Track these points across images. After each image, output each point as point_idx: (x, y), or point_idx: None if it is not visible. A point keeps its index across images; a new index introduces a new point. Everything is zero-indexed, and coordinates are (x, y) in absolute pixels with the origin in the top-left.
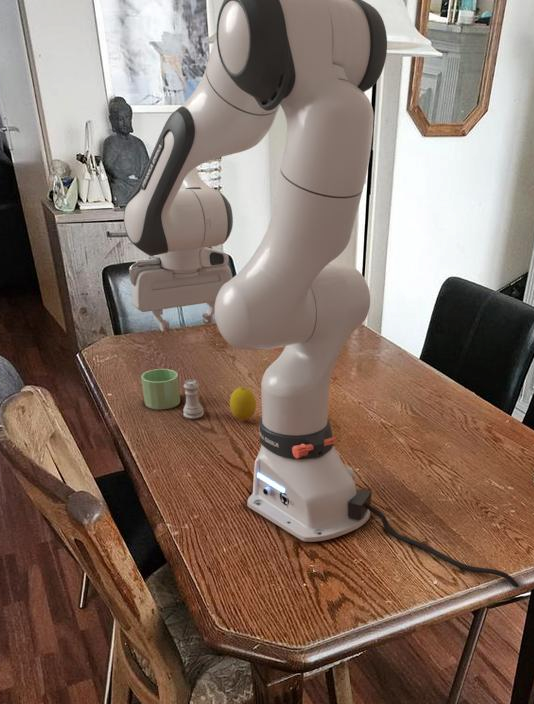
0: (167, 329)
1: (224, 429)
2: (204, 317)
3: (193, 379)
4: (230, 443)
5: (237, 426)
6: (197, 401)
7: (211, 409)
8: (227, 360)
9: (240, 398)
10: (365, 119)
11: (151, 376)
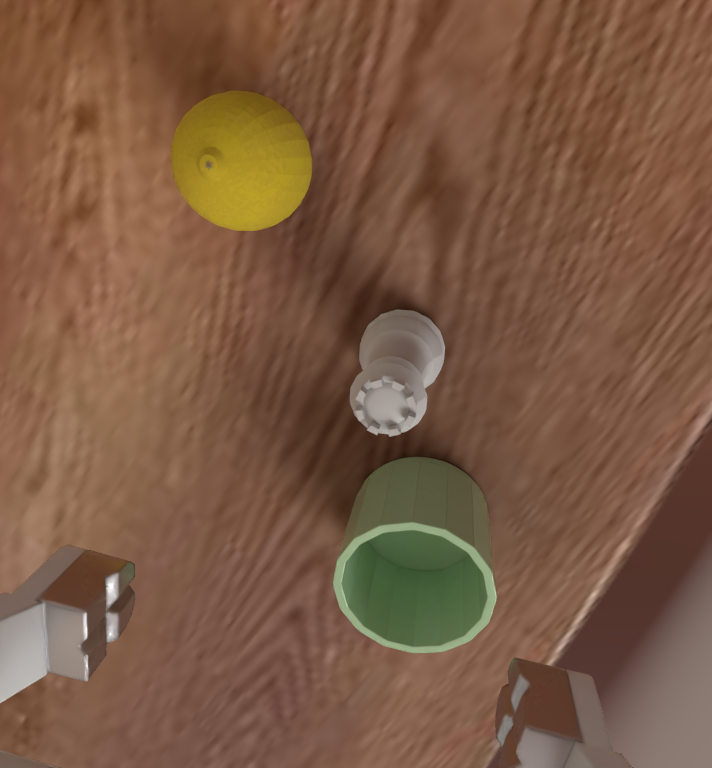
0: (543, 668)
1: (384, 151)
2: (100, 631)
3: (358, 420)
4: (452, 3)
5: (323, 136)
6: (385, 347)
7: (314, 346)
8: None
9: (263, 121)
10: None
11: (414, 626)
